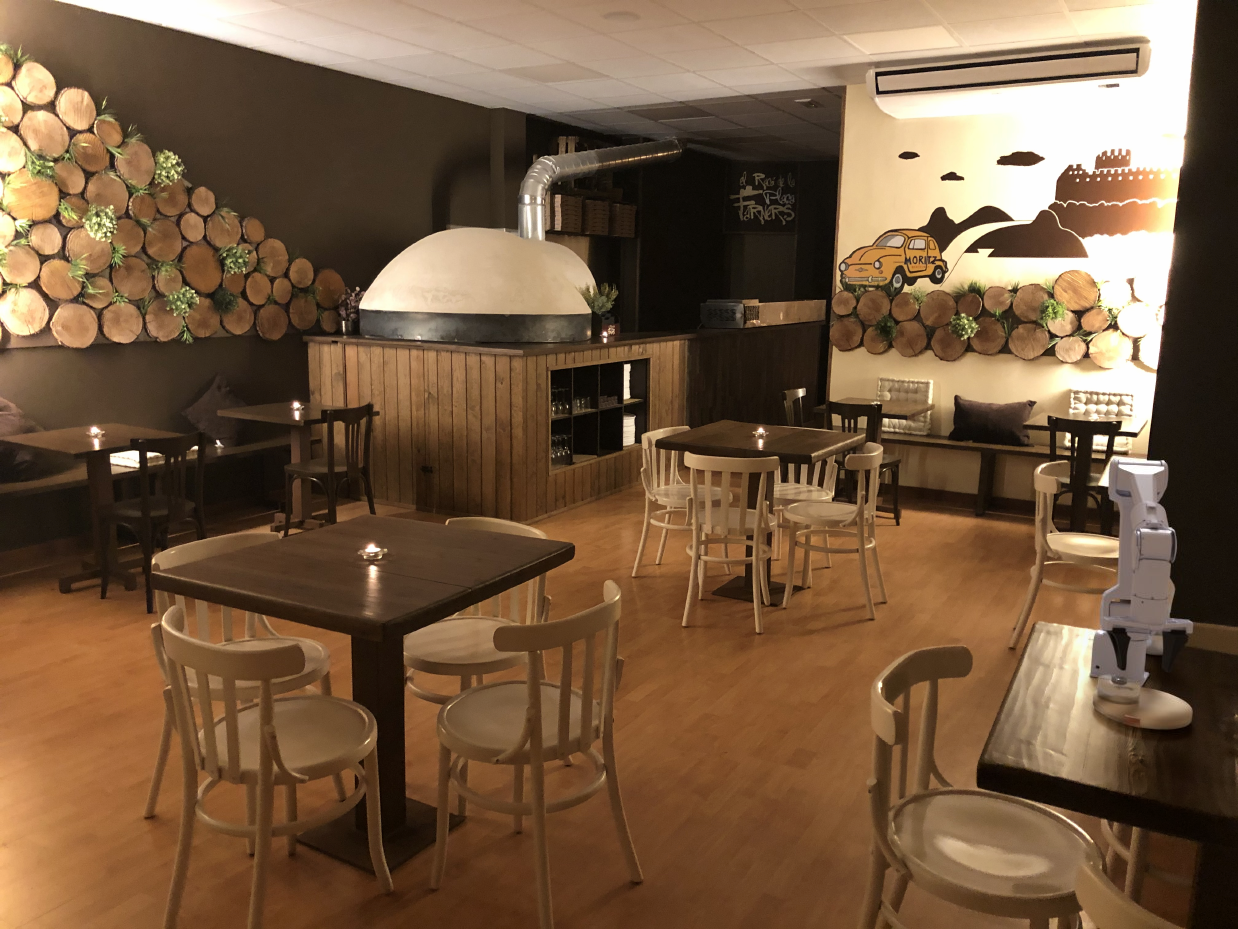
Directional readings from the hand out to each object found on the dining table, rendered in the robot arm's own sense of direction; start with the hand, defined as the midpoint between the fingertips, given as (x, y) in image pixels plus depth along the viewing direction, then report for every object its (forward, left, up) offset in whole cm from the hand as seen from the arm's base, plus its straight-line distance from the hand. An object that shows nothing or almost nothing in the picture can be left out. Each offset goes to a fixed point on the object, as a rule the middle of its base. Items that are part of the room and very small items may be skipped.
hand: (1143, 669), depth 174 cm
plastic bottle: (-5, +39, -10) cm, 40 cm away
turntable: (0, +3, -10) cm, 10 cm away
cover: (-4, +3, -7) cm, 9 cm away
